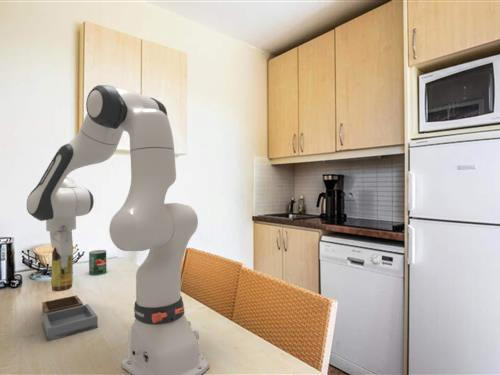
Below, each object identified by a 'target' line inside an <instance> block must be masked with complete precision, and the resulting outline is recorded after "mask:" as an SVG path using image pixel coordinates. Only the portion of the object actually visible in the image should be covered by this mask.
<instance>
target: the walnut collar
mask: <svg viewBox="0 0 500 375" xmlns="http://www.w3.org/2000/svg"><path fill="white" fill-rule="evenodd" d="M41 304H42V306H41V307H42V312H41V313H42V314H46V313H51V312H55V311H60V310H64V309H68V308H73V307H77V306H81V305H84V303H83V301H81V299H80V298H79V297H78V295H71V296H67V297H61V298H56V299H52V300H51V299H50V300H47V301H43V302H41Z"/></svg>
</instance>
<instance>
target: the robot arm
mask: <svg viewBox="0 0 500 375" xmlns="http://www.w3.org/2000/svg"><path fill="white" fill-rule="evenodd" d="M85 105H86V107H85V108H86V114H85V116H84V119H83V122H82V123H81V126H80V129H79V130H78V133H77V134H76V135H75V136H74V137H73V139H72V140H70V141H69V142H67V143H66V144H63V145H62V146H60V148H58V150H57V152H56V153H55V155H54V156H53V158H52V159H51V161H50V162H49V164H48V166H47V168H46V170H45V171H44V173H43V175H42V177H41V178H40V180H39V182H38V183H37V184H36V186H35V188H34V189H33V190H31V192H30V193H29V194H28V196H27V199H26V211H27V212H28V214H29V215H31V217H33V218H34V219H36V220H38V221H40V222H42V221H43V222H44V221H45V230H46V232H49V237H50V244H51V248H52V250H54V248H55V247H56V251H57V253H58V254H59V255H60V257H61V262H60V263H61V267H62V268H63V267H67V261H68V256H69V255H72V254H73V253H74V244H73V243H74V242H73V230H76V229H77V217H80V216H82V217H83V216H85V215H88V214H89V213H91V211H92V209H93V207H94V204H95V203H94V202H95V201H94V196H93V194H92V192H91V191H90V190H89V189H87V188H86V187H82V186H80V185H78V184H75V180H74V179H72V178H69V177H67V176H68V175H70V174H71V172H73V171H75V170H77V169H80V168H83V167H86V166H91V165H96V164H101V163H104V162H106V161H108V160H110V159H111V157H112V156H113V155H114V154H115V152H116V151H117V148H118V146H119V144H120V142H121V141H120V140H122V135H123V133H124V131H125V132H127V133H128V136H129V154H130V174H131V178H130V186H129V190H128V194H127V196H126V198H125V201H124V203H123V204H122V206H121V207H120V208H119V209H118V211H117V212H116V213H115V214H114V215H113V216H112V218H111V220H110V223H109V226H108V227H109V230H108V231H109V237H110V239H111V241H112V243H113V245H114V247H116V248H117V249H118V250H120V251H123V252H143V251H144V252H145V251H147V250H148V254H147V256H146V258H145V259H144V261H143V262H142V263H141V265H139V267H138V269H137V270H136V274H135V289H136V290H135V291H136V292H135V295H136V296H135V297H136V299H135V301H134V307H133V312H134V318H135V319H134V322H133V324H132V325H131V326H130V327H129V330H128V340H127V341H128V342H127V356H126V357H125V358H124V359H123V360H122V361H121V368H122V369H124V370H125V371H127V372H128V373H129V374H130V375H203V374H204V373H205V372H206V371H207V370H208V369H209V368H210V363H209V361H208V359H207V358H206V357H205V355H204V354H203V352H202V351H201V349H200V348H199V342H198V340H199V339H200V334H199V331H198V330H193V328H192V327H191V326H192V323H191V321H190V320H188V319H187V317H186V315H185V307H184V306H185V304H184V301H183V297H182V296H181V283H182V282H181V276H182V265H183V262H184V261H183V259H184V257H185V253H186V249H187V246H188V244H189V241H190V240H191V238H192V236H194V234H195V233H196V231H197V228H198V226H199V225H198V224H199V219H198V214H197V213H196V211H195V210H194V208H192V206H189V205H188V204H184V203H179V202H169V203H165V200H166V195H167V192H168V190H169V188H170V187H171V186H172V185H174V183H175V182H176V180H177V170H176V153H175V145H174V144H175V142H174V137H173V131H172V128H171V123H170V120H169V117H168V112H167V108H166V106H165V105H164V104H163V103H162V102H161V101H159V100H157V99H155V98H154V97H148V96H146V95H143V94H141V93H138V92H136V91H134V90H130V89H125V88H121V87H114V86H113V85H106V84H105V85H104V84H102V85H99V84H98V85H96V86H94V87H93V88H92V89H91V90H90V92H89V93H88V95H87V98H86V104H85ZM66 241H67V242H66ZM73 255H74V254H73Z"/></svg>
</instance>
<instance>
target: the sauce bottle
mask: <svg viewBox="0 0 500 375" xmlns="http://www.w3.org/2000/svg"><path fill="white" fill-rule="evenodd" d="M66 242H67V241H66ZM73 255H74V254H72V255H69V256H68V261H67V267H63V268H62V267H61V263H60V262H61V257H60V255H59V254H58V253H57V251H56V247H55V248H54V249H52V253H51V290H52V292H59V293H60V292H64V291H68V290H70V289H71V288H73V277H74V276H73V274H74V272H73V268H74V265H73V264H74V262H73V261H74V260H73V259H74V256H73Z"/></svg>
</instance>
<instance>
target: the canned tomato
mask: <svg viewBox="0 0 500 375" xmlns="http://www.w3.org/2000/svg"><path fill="white" fill-rule="evenodd" d="M88 273H89V276H92V277H93V276H102V275H106V274H107V250H106V249H95V250H91V251H89V252H88Z"/></svg>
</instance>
